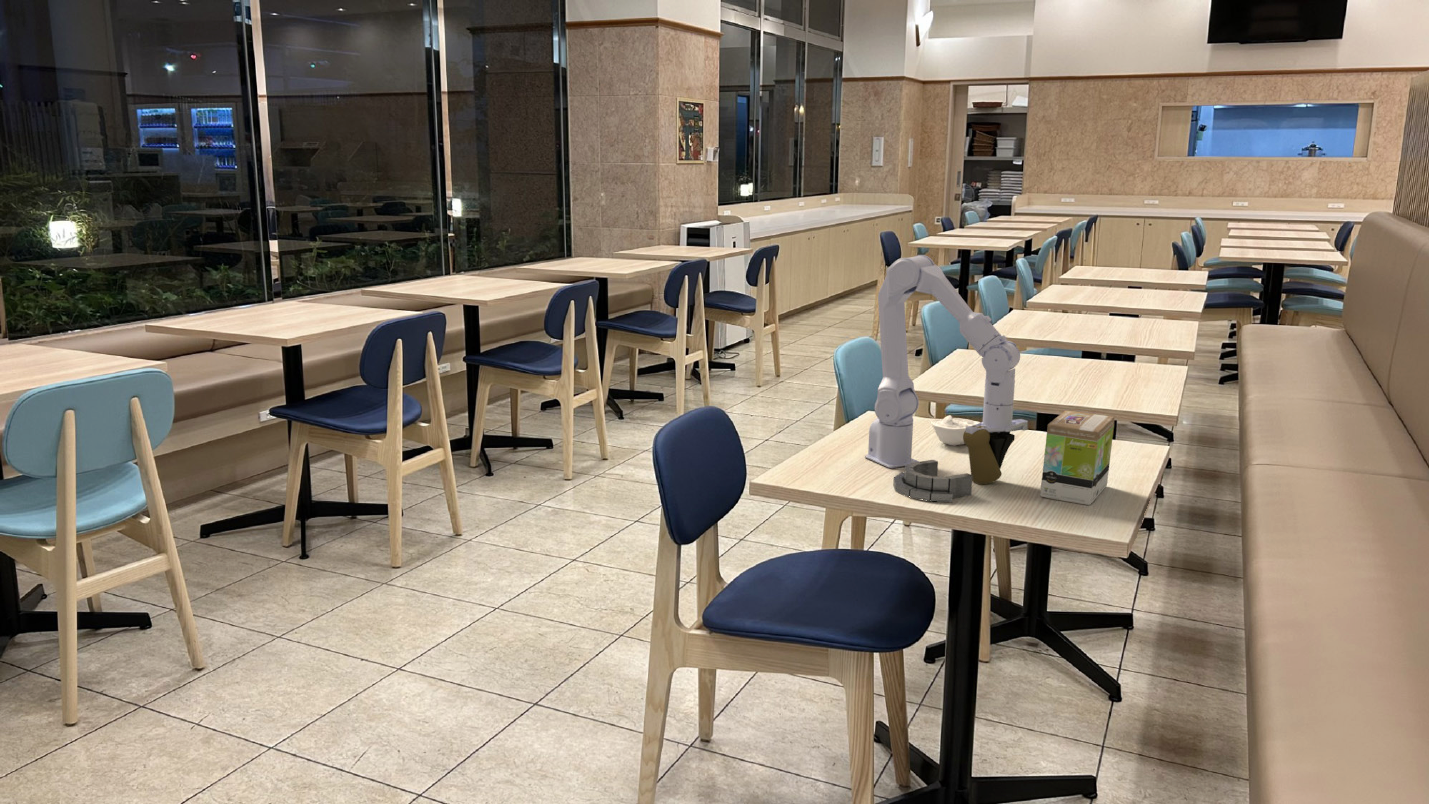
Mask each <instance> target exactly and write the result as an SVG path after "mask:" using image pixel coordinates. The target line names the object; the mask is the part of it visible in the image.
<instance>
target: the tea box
mask: <svg viewBox="0 0 1429 804" xmlns="http://www.w3.org/2000/svg"><path fill="white" fill-rule="evenodd" d="M1046 429H1047V430H1046V437H1045V447H1044V455H1043V456H1044V457H1043V465H1042V476H1041V483H1040V484H1041V485H1040V493H1039V496H1040V497H1042V498H1047V499H1049V500H1050V499H1051V500H1056V501H1057V500H1058V501H1062V502H1063V501H1064V502H1068V503H1074V504H1080V505H1087V506H1091V505H1092V503H1093V502H1095V500H1096V499H1097V498H1098V497H1099V495H1100V494H1101V493H1103V490H1104V489H1106V487H1107V485H1108V481H1109V480H1108V479H1109V473H1110V472H1109V470H1110V463H1111V453H1112V447H1113V437H1114V429H1115V417H1114V416H1110V415H1104V414H1096V413H1095V414H1094V413H1088V412H1081V411H1080V412H1079V411H1074V410H1072V411H1071V410H1064V411H1063V412H1062V413H1060V414H1059V415H1058V416H1057V417H1055V418H1054V419H1053V420H1052V421H1050V422H1049V423H1048V424H1047V428H1046Z"/></svg>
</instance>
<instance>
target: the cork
mask: <svg viewBox="0 0 1429 804" xmlns="http://www.w3.org/2000/svg"><path fill="white" fill-rule="evenodd" d="M974 427H977V428H981V427H983V428H985V427H984V426H974ZM963 440H964V443H965V444H964V445H965V446H966V447H967V448H968V449H967V450H968V451H967V452H968V459H969V467H970V475H973V477H972V483H974V484H978V485H987V484H992V483H994V482H996V481H998V480H999V479H1000V478H1001V477H1002V473H1003V472H1002V471H1001V469H1000V468H999V466H998V463H997V461H996V458H995V456H994V454H993V451H992V449H991V446H990V444H989V440H990V434H989V432H988V431H987V430H986V429H981V430H978V431H976V432H974V433H973V434H970V433H967V432H966V430H965V432H964V434H963Z"/></svg>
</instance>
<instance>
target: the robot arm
mask: <svg viewBox="0 0 1429 804" xmlns="http://www.w3.org/2000/svg"><path fill="white" fill-rule="evenodd" d="M885 271H886V275H885V278H884V280H883V282H882V284H881V286H880V289H879V291H878V294H877V301H878V302H877V303H878V317H879V321H878V322H879V335H880V347H881V348H880V350H881V351H880V352H881V354H880V355H881V367H882V379H881V381H880V383H879V386H878V388H877V398H876V400H875V403H874V413H875V415H876V418H875V419H874V420H873V421H872V422H871V424H870V426H869V429H868V430H869V431H868V448H867V449H868V452H867V454H865V455H864V458H865V459H868V460H870V461H873V462H874V463H877V464H879V465H882V466H884V467H886V468H888V469H894V468H901V467H905V466H907V465H908V464H910V463H914V462H920V461H919V460H917V459H914V458H912V451H913V449H912V448H913V432H914V430H913V429H914V414H915V413H916V412H917V411H918V409H919V406H920V405H919V404H920V400H919V397H918V394H917V393H916V391H915V385H914V381H913V380H912V379H911V377H910V375H909V361H908V359H909V358H908V346H907V343H908V342H907V327H906V326H907V325H906V309H905V302H906V301H907V300H908V299H909V298H910V297H911V296H912V295H913V294H914V293H915V292H919V293H921V294H926V295H927V294H928V295H932V296H933V297H934V298H935V300H937V301H938V302H939V303H940V304H941V305H942V306H943V308H945V309H946V310H947V311H948V313H950V315H951V316H953V317H954V319H955V320H956V321H957V322H958V323H959V333H960V334H961V336H962V337H964V339H965V340H966V341H967V342H968V344H969V345H970V346H971V347H972V348H973V349H974V351H975V352H976V353H977V354H978V355H979V356H980V357H982V358H981V364H982V366H983V368H984V370H985V380H984V382H985V383H984V394H983V409H982V412H983V413H982V421H981V423H978V424H975V425H972V426H969V427H966V432H967V433H970V434H973V433H974V432H976V431H978V430H981V429H986V430H987V431H988V432H989V434H990V440H989V444H990V446H991V449H992V451H993V454H994V456H995V458H996V461H997V463H998V466H999V468H1000V470H1001V468H1002V465H1003V462H1004V460H1005V457H1006V454H1007V453H1008V450H1009V449H1010V446H1012V444H1013V443H1014V441H1015V439H1016V438H1015V436H1016V435H1015V434H1013V433H1011V432H1016V431H1017V432H1018V431H1023V432H1025V431H1028V427H1029V426H1028V424H1029V421H1028V420H1026V419H1023V418H1019V419H1013V417H1014V416H1013V412H1014V400H1015V387H1016V386H1015V384H1016V368H1015V367H1016V366H1017V365H1018V364H1019V362H1020V360H1021V352H1020V350H1019V347H1017V344H1016V343H1015V342H1013V341H1010V340H1007V339H1008V338H1007V337H1006V335H1004V334H1003V335H1002V334H1001V332H999V331H998V330H997V328H996V327H995V326H994V325H993V324H992V323H991V321H992V318H991V317H990V316H989V315H984V314H983V313H982V312H974V311H973V309H971V307H970V306H969V305H968V304H967V302H966V301H965V300H964V299H963V298H962V296H961V294H959V292H958V290H956V288H955V287H954V285H952V284H951V282H950V281H949V279H948V278H947V277H946V275H945V274H944V271H943V270H942V268H940V267H939V266H938V265H937V264H935V262H934V260H933V259H932V258H931V257H929V256H927V255H925V254H918V255H914V256H912V257H911V256H910V257H901V258H898V259H897V260H895V261H894V262H893V263H891V265H890V266H888V267H887V269H886V270H885ZM974 426H984V427H985V428H983V427H981V428H977V427H974Z"/></svg>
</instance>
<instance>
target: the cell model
mask: <svg viewBox="0 0 1429 804" xmlns="http://www.w3.org/2000/svg"><path fill="white" fill-rule="evenodd" d="M981 422H982V421H981ZM981 422H980V421H978V420H977V421H976V420H972V419H967V418H960V417H952V415H947V416H945V417H944V418H941V419H940V418H939V419H935V420H932V421H931V422H930V424H931V426H932V427H933V430H934V432H935V434H936V436H937V437H938V439H939V441H940V442H942V443H943V444H945V443H946V445H948V446H958V445H966V444H965V443H964V440H963V434H964V432H965V430H966V427H969V426H972V425H975V424H978V423H981Z"/></svg>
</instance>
